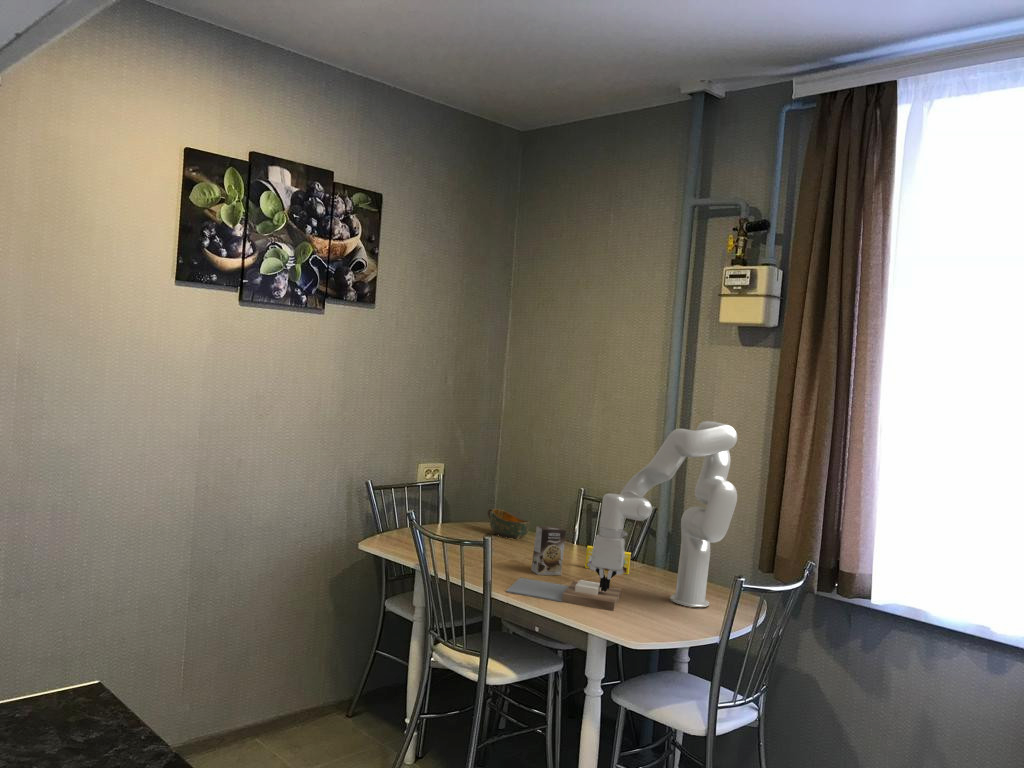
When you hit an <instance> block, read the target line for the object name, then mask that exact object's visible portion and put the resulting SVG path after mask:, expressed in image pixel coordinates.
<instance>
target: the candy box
mask: <svg viewBox="0 0 1024 768" xmlns="http://www.w3.org/2000/svg"><path fill="white" fill-rule="evenodd" d="M593 546H594V545H593ZM593 546H592V545H587V546H586V555H585V562H584V563H585V564H584V569H588V568H590V565H591V558H592V552H593ZM631 555H632V552H629V551H625V557H624V566H623V573H624V574H630V564H631ZM606 571H609V570H608V569H604V572H606ZM613 571H614V570H613ZM624 574H623V575H624Z"/></svg>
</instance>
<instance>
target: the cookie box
mask: <svg viewBox="0 0 1024 768" xmlns="http://www.w3.org/2000/svg"><path fill="white" fill-rule="evenodd" d="M535 529H536V530H535V537H534V544H533V545H534V547H533V555H532V561H531V562H532V563H531V568H530V569H531V571H532V572H533V573H534V574H536V575H538V576H561V575H562V571H563V570H562V569H563V560H564V552H565V543H566V535H567V530H566V529H564V528H562V527H559V526H546V525H545V526H544V525H536V528H535Z"/></svg>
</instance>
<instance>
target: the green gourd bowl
mask: <svg viewBox="0 0 1024 768" xmlns="http://www.w3.org/2000/svg"><path fill="white" fill-rule="evenodd" d="M487 517H488V519H489V523H490V524H489V526H490V529H491V532H492V534H493V533H494V534H496V535H499V536H502V537H501V538H503V537H507V538H513V539H522V540H523V539H524V538H525V537H526V536H527V535H528V533H529V530H530V525H531V524H530V523H531V521H529V520H525V519H522V518H519V517H517V516H515V515H513V514H512V513H510V512H508V511H505V510H503V509H500V508H488V509H487ZM494 534H493V535H494ZM496 535H495V536H496ZM499 536H498V537H499ZM507 538H506V539H507Z"/></svg>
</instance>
